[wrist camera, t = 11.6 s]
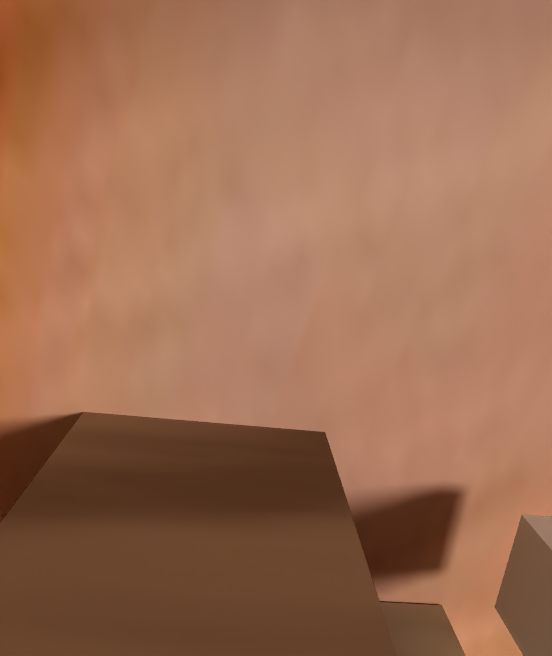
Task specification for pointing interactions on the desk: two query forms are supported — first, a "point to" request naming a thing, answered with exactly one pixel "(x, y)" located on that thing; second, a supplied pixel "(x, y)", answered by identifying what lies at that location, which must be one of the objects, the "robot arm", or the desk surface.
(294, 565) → the brown blocky t-shaped piece
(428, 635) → the board
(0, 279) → the desk surface
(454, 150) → the desk surface
